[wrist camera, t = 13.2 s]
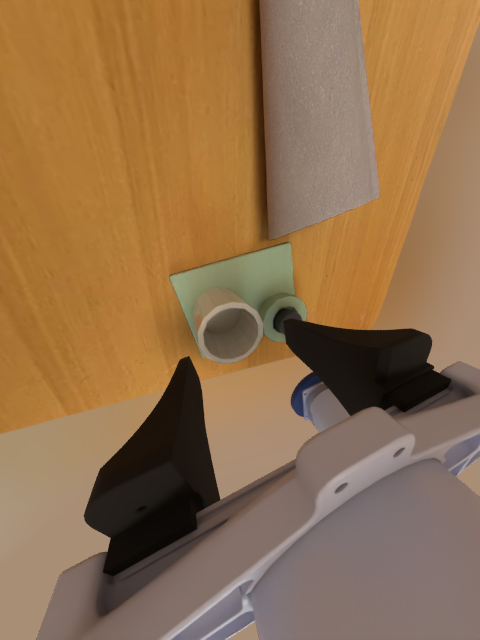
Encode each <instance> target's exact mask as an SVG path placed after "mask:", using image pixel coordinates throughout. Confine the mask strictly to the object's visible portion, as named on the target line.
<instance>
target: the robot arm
mask: <svg viewBox="0 0 480 640" xmlns="http://www.w3.org/2000/svg"><path fill="white" fill-rule="evenodd" d="M283 323H284V331H285V339H286V344H287V345H288V346H289V348H290V349H291V350H292V351H293V353H294V354H295V355H296V356H297V357H299V358H300V359H301V360H302V361H303V362H304V363H305V364H306V365H307V366H308V367H309V368H310V369H311V370H312V371H313V372H314V373H315V374H316V375H317V376H318V377H319V378H320V379H321V380H322V381H321V382H318V383H316V384H314V385H312V386H310V387H308V388H306V389H304V390H302V401H303V413H304V420H309V419H310V421H311V422H312V423H313V425H314V426H315V427H316V429H317V430H318V431H319V433H318V434H317V435H315V436H313V437H312V438H311V439H309V440H308V441H306V442H305V443H304V444H303V446H302V447H301V448H300V450H299V451H298V454H297V457H296V459H295V460H293V461H291V462H289V463H287V464H286V465H284V466H282V467H280V468H278V469H277V470H275V471H273V472H271V473H269V474H267V475H266V476H264V477H262V478H260V479H258V480H256V481H254V482H253V483H251V484H249V485H247V486H245V487H243V488H242V489H240V490H238V491H236V492H234V493H232V494H231V495H229V496H227V497H225V498H223V499H222V500H220V496H219V492H218V487H217V483H216V478H215V474H214V469H213V465H212V460H211V454H210V450H209V444H208V439H207V434H206V428H205V420H204V410H203V398H202V390H201V384H200V380H199V377H198V374H197V372H196V370H195V368H194V366H193V363H192V361H191V359H190V357H189V356H188V357H185V358H183V359H180V361H179V363H178V365H177V368H176V370H175V372H174V375H173V377H172V379H171V381H170V383H169V385H168V387H167V388H166V390H165V392H164V394H163V396H162V397H161V399H160V401H159V402H158V404H157V405H156V407H155V408H154V410H153V411H152V412H151V414H150V415H149V416H148V417H147V419H146V420H145V422H144V423H143V424H142V425H141V426H140V428H139V429H138V430H137V431H136V432H135V433H134V435H133V436H132V437H131V438H130V439H129V440H128V441H127V442H126V444H124V446H123V447H122V448H121V449H120V450H119V451H118V452H117V453H116V454H115V455H114V456H113V457H112V458H111V459H110V460H109V461H108V462H107V463H106V464H105V465H104V466H103V467H102V468H100V471H99V473H98V476H97V478H96V481H95V484H94V487H93V490H92V493H91V496H90V498H89V501H88V504H87V507H86V510H85V514H84V518H85V522H86V523H87V524H88V525H89V526H90V527H92V528H93V529H95V530H97V531H99V532H101V533H103V534H104V535H106V536H108V537H110V538H111V540H110V544H109V548H108V552H101V553H98V554H96V555H93V556H92V557H89V558H88V559H86V560H84V561H82V562H80V563H78V564H76V565H75V566H73V567H71V568H69V569H67V570H65V571H63V572H62V574H60V575H59V578H58V580H57V583H56V586H55V589H54V592H53V594H52V597H51V600H50V603H49V605H48V608H47V611H46V614H45V617H44V619H43V622H42V625H41V628H40V630H39V633H38V636H37V639H36V640H227V639H228V638H230V637H231V636H233V635H235V634H236V633H238V632H239V631H241V630H243V629H244V628H246V627H247V626H249V625H250V624H252V623H254V622H256V627H257V632H258V637H259V640H480V497H479V496H478V495H477V494H476V493H475V492H473V491H472V490H471V489H470V488H469V487H467V486H466V485H465V484H464V483H463V482H461V481H460V480H459V479H458V478H457V477H456V476H457V475H458V474H460V473H461V472H462V471H463V470H465V469H466V468H467V467H469V466H470V465H471V464H472V463H474V462H475V461H476V460H477V459H479V458H480V369H477V368H475V367H472V366H470V365H468V364H465V363H463V362H461V361H459V362H456V363H454V364H452V365H450V366H448V367H447V368H445V369H444V370H442V371H441V372H440V373H438V372H436V371H434V370H433V369H434V366H433V365H430V364H429V363H427V362H426V361H427V358H428V356H429V353H430V350H431V347H432V339H431V337H430V336H429V335H428V334H426V333H423V332H420V331H417V330H415V329H396V330H353V329H343V328H335V327H329V326H324V325H319V324H314V323H310V322H306V321H302V320H297V319H292V318H290V319H287V320H284V321H283Z"/></svg>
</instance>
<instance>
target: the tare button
mask: <svg viewBox="0 0 480 640" xmlns="http://www.w3.org/2000/svg"><path fill="white" fill-rule="evenodd" d="M290 318H292V319H297V320H302V317H301V315H300V314H298V313H297V312H295V311H293V310H291V309H289V308H284V309H282V310H280V311H279V312H278V313H277V314H276V315H275V318H274V325H275V327H276V328H277V329H278V330H279V331H280V332H281V333H283V334H284V335H285V331H284V323H283V321H284V320H287V319H290Z"/></svg>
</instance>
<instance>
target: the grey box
mask: <svg viewBox="0 0 480 640" xmlns="http://www.w3.org/2000/svg"><path fill="white" fill-rule="evenodd" d="M259 3H260V27H261V52H262V77H263V103H264V129H265V151H266V176H267V209H268V232H269V240H273V239H276V238H279V237H282V236H285V235H287V234H290V233H293V232H295V231H298V230H301V229H303V228H306V227H309V226H311V225H314V224H316V223H319V222H322V221H324V220H327V219H329V218H332V217H334V216H337V215H339V214H342V213H344V212H347V211H349V210H352V209H354V208H357V207H359V206H361V205H364V204H366V203H368V202H370V201H372V200H374V199H376V198H378V197H379V196H380V191H379V182H378V173H377V164H376V155H375V146H374V137H373V128H372V119H371V110H370V101H369V92H368V83H367V74H366V65H365V56H364V47H363V38H362V30H361V21H360V12H359V3H358V0H259Z"/></svg>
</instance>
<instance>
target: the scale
mask: <svg viewBox="0 0 480 640" xmlns="http://www.w3.org/2000/svg"><path fill="white" fill-rule="evenodd" d="M169 278H170V281H171V283H172V285H173V288H174V290H175V293H176V295H177V298H178V300H179V302H180V305H181V307H182V310H183V312H184V315H185V317H186V319H187V322H188V324H189V327H190V329H191V332H192V334H193V336H194V339H195V341H196V344H197V346H198V349H199V351H200V353H201V356H202V358H205V357H206V356H205V354H204V353H203V352H202V350H201V349H200V348H199V345H198V340H197V335H196V330H195V325H194V319H193V307H194V304H195V301H196V300H197V298H198V297H199V296H200V295H201V294H202V293H203V292H204V291H206V290H208V289H211V288H214V287H224V288H228V289H231V290H232V291H234V292H235V293H236V294H238V295H239V296H240V297H241V298H243V299H244V300H245V301H246V302H247V303H248V304H250V305H251V306H252V307H253V308H254V309H255V310H257V312H258V313H259V315H260V317H261V320H262V322H263V335H266V336H267V337H268V338H269V339H271V340H272V341H277V342H284V341H286V339H285V335H284V334H283V333H281V332H280V331H279V330H278V329H277V328H276V327H275V325H274V318H275V315H276V314H277V313H278V312H279V311H280V310H282V309H284V308H289V309H291V310H293V311H295V312H297V313H298V314H300V315H301V317H302V321H306V318H307V314H306V306H305V305H304V303H303V302H302V301H301V299H300V298H298V297H296V296H295V290H294V277H293V264H292V251H291V242H285V243H282V244H278V245H275V246H271V247H268V248H264V249H261V250H257V251H253V252H250V253H246V254H243V255H239V256H236V257H232V258H228V259H225V260H221V261H218V262H214V263H211V264H207V265H204V266H200V267H196V268H193V269H189V270H186V271H182V272H179V273H175V274H172V275H169Z"/></svg>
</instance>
